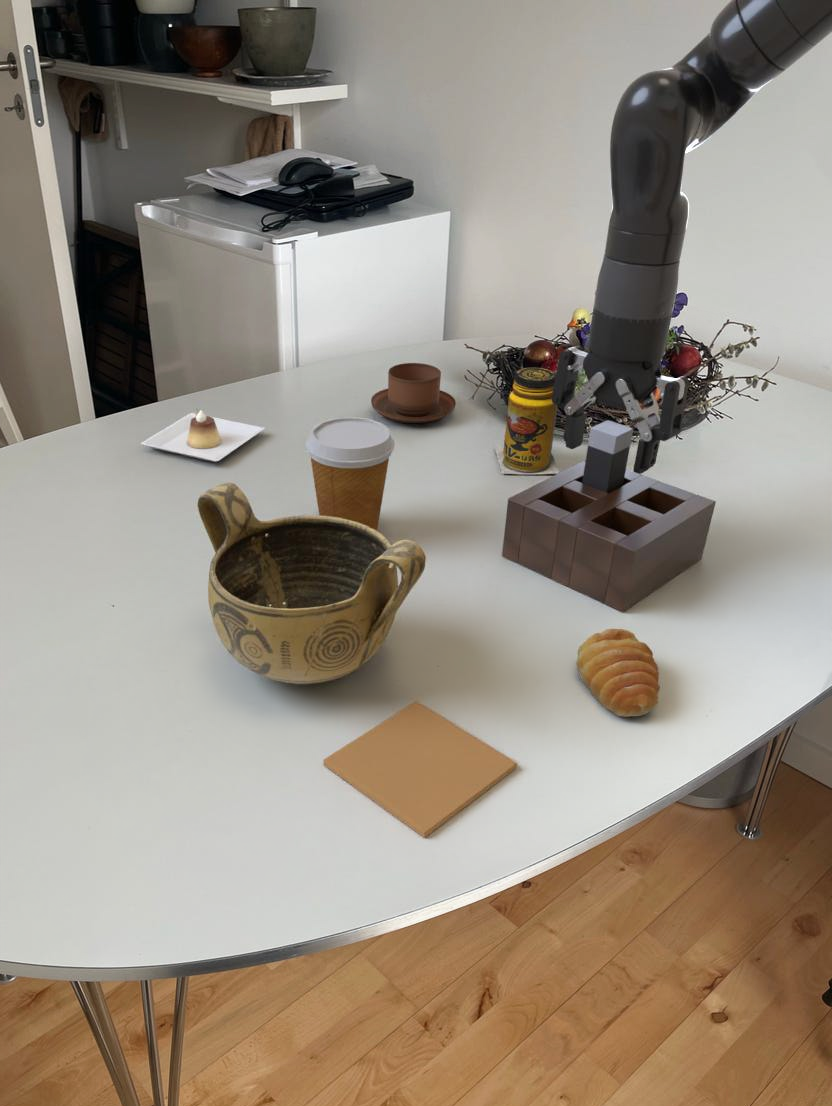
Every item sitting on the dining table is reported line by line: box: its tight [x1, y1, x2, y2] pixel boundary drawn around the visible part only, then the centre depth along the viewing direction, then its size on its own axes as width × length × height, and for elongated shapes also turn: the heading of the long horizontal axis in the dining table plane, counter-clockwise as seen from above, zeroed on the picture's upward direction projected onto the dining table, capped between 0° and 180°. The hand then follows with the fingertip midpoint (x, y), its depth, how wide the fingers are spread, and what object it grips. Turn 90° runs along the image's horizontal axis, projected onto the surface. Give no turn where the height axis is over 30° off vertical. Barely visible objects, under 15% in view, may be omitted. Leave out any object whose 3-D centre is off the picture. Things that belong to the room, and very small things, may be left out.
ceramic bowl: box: [197, 481, 427, 685], centre depth 85 cm, size 22×17×15 cm
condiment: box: [494, 366, 561, 476], centre depth 122 cm, size 7×8×12 cm
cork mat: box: [322, 700, 518, 838], centre depth 78 cm, size 11×11×1 cm
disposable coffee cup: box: [304, 416, 395, 531], centre depth 106 cm, size 10×10×12 cm
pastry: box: [576, 628, 661, 718], centre depth 85 cm, size 9×7×4 cm
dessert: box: [140, 409, 266, 463], centre depth 128 cm, size 12×12×5 cm
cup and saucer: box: [370, 362, 457, 424], centre depth 137 cm, size 12×12×6 cm
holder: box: [501, 459, 717, 613], centre depth 103 cm, size 15×15×7 cm
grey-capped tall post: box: [582, 419, 634, 494], centre depth 105 cm, size 3×3×13 cm
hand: (606, 458), depth 104 cm, fingers open, 8 cm apart
